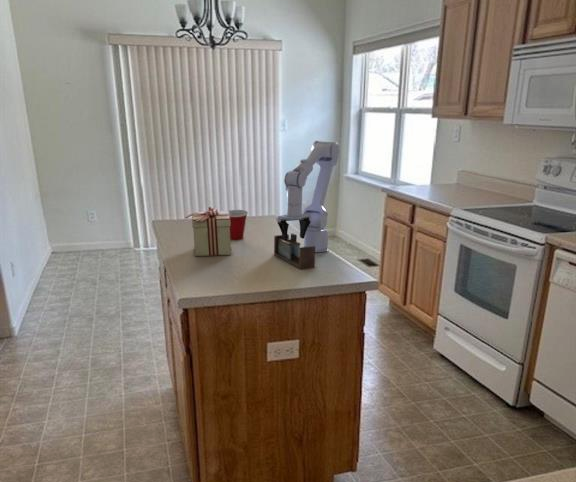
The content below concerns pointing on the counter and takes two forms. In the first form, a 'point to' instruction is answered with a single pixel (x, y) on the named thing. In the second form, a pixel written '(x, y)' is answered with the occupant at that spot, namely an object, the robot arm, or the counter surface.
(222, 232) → the gift box
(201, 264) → the counter surface
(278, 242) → the window frame
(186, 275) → the counter surface
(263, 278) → the counter surface
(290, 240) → the sliding pane
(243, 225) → the plastic cup
